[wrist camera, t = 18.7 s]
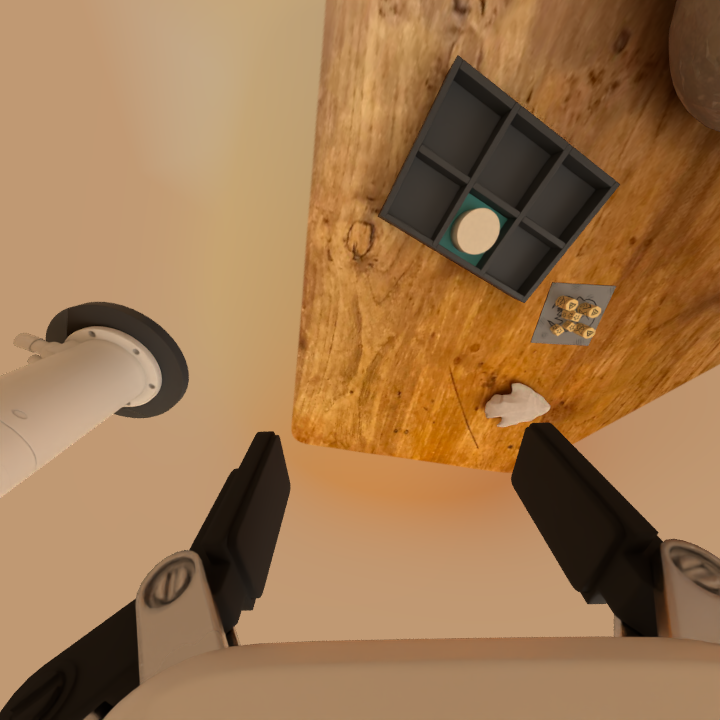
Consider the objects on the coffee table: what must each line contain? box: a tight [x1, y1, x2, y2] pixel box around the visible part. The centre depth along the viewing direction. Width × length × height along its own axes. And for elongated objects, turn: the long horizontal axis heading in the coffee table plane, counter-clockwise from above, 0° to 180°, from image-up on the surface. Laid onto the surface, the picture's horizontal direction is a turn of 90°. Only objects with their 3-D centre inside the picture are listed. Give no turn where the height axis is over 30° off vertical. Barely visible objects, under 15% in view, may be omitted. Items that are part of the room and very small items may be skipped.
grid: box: [378, 56, 620, 303], centre depth 28 cm, size 20×13×2 cm
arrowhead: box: [485, 383, 550, 427], centre depth 40 cm, size 8×3×10 cm
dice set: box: [549, 295, 602, 340], centre depth 34 cm, size 5×5×2 cm
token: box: [450, 208, 500, 255], centre depth 29 cm, size 4×4×2 cm
